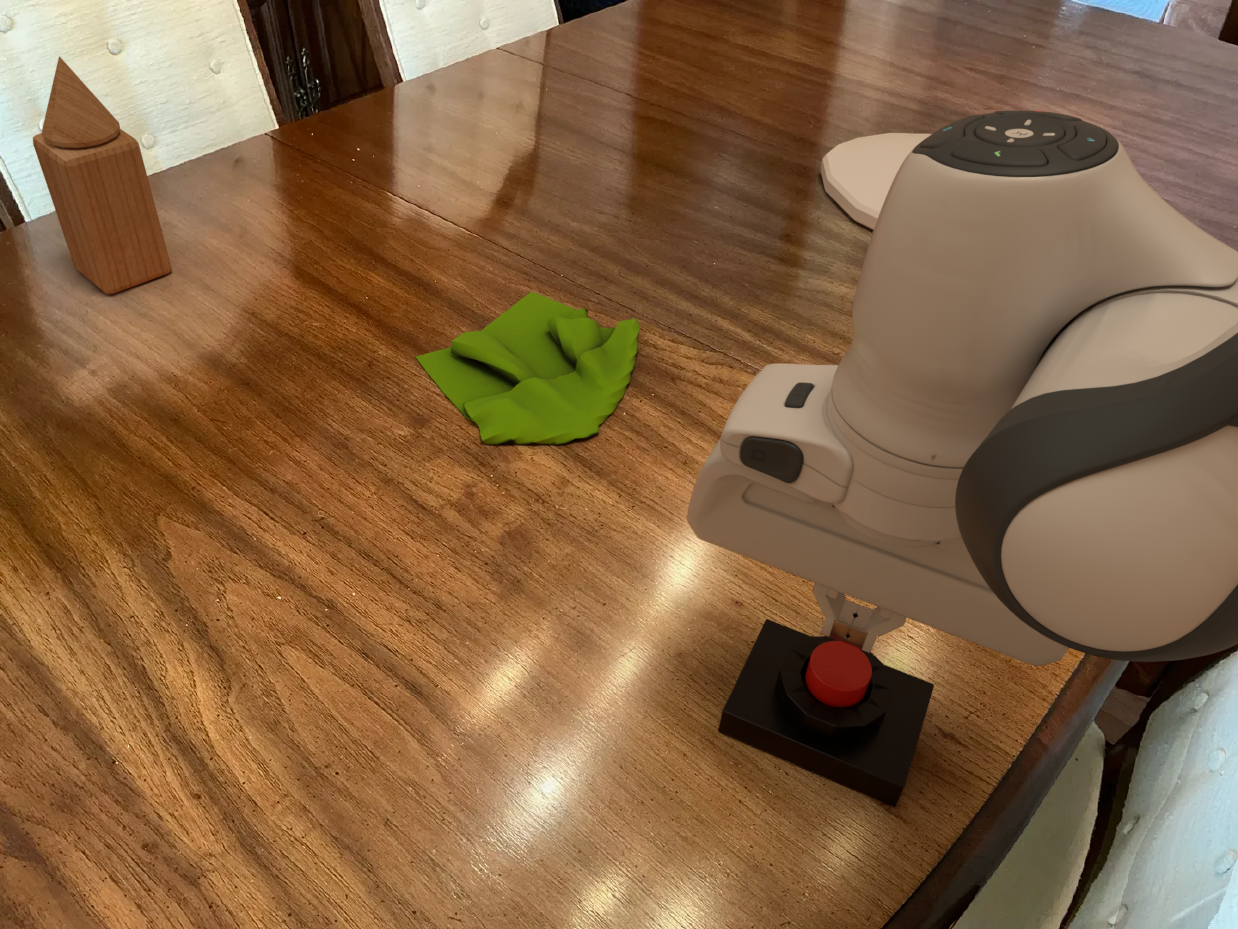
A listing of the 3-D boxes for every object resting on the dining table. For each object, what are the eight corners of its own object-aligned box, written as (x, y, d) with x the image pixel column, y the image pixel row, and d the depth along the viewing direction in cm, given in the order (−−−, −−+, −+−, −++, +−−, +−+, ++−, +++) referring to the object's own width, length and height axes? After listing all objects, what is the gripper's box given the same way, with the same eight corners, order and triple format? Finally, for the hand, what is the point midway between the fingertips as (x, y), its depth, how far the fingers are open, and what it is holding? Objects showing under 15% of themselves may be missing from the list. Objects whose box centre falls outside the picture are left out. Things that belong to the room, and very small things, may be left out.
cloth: (476, 470, 78) (475, 446, 76) (395, 319, 92) (392, 297, 91) (708, 410, 85) (711, 387, 84) (599, 279, 100) (600, 257, 98)
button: (872, 672, 61) (879, 654, 60) (856, 717, 59) (863, 700, 58) (815, 650, 62) (820, 631, 61) (797, 693, 60) (802, 675, 59)
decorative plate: (890, 223, 103) (797, 122, 121) (881, 259, 106) (790, 155, 123) (1101, 207, 109) (982, 112, 126) (1087, 241, 112) (972, 144, 129)
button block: (925, 705, 64) (942, 665, 61) (895, 808, 58) (912, 770, 56) (761, 639, 67) (770, 599, 65) (717, 732, 62) (726, 692, 59)
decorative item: (140, 246, 99) (80, 35, 86) (176, 273, 96) (119, 58, 83) (73, 269, 95) (-1, 53, 82) (107, 298, 92) (36, 78, 79)
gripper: (1144, 485, 48) (1043, 666, 57) (736, 355, 53) (704, 538, 63) (1133, 574, 43) (1026, 754, 53) (691, 421, 49) (664, 608, 58)
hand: (848, 635), depth 58 cm, fingers closed
